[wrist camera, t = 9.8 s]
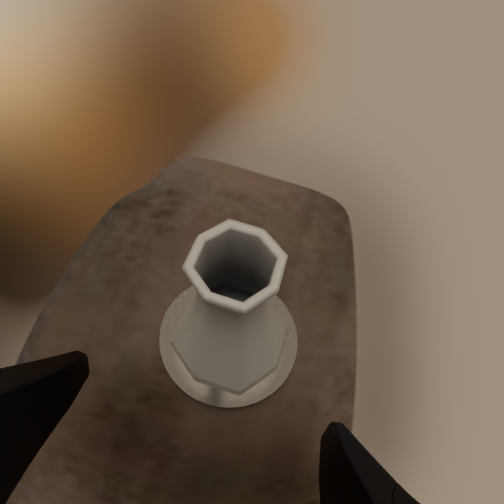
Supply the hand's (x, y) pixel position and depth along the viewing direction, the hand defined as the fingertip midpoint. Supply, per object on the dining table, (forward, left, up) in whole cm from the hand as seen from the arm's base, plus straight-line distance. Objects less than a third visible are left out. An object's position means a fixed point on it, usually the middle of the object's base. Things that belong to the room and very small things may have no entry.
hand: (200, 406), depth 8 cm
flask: (+5, -1, -8) cm, 9 cm away
